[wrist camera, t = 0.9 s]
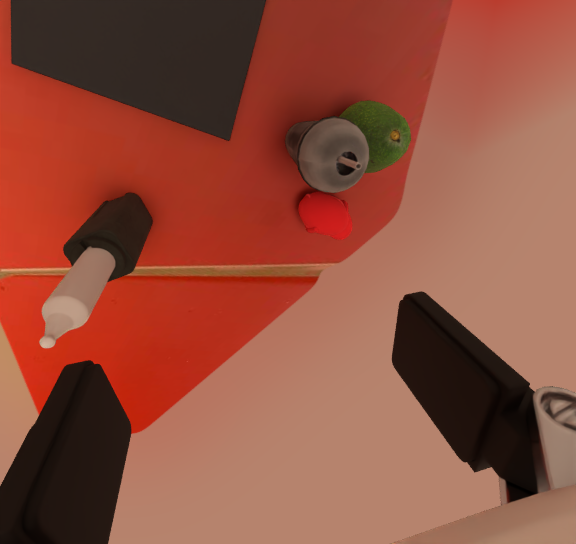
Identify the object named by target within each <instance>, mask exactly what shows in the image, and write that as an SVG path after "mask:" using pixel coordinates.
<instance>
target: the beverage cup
mask: <svg viewBox="0 0 576 544" xmlns="http://www.w3.org/2000/svg"><path fill="white" fill-rule="evenodd" d="M285 144H286V148H287V150H288V152H289V154H290V156H291V157H292V159H293V160H294V161H295V163H296V164H297V166H298V170H299V172H300V174H301V176H302V178H303V180H304V181H305V182H306V183H307V184H308V185H309V186H310V187H312V188H314V189H316V190H318V191H323V192H331V193H336V192H340V191H344V190H347V189H349V188H350V187H352V186H354V185H355V184H356V183H357V182H358V181H359V180H360V179H361V177H362V176H363V174H364V172H365V170H366V168H367V165H368V161H369V147H368V144H367V141H366V138H365V136H364V134H363V133H362V132H361V130H360V129H359V128H358V127H357V126H356V125H355V124H354V123H353V122H351V121H349V120H348V119H346V118H343V117H337V116H332V117H327V118H322V119H321V120H319V121H305V122H300V123H296V124H295V125H293V126H292V127H291V128H290V129H289V130H288V132H287V135H286V139H285Z"/></svg>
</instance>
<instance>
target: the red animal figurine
mask: <svg viewBox="0 0 576 544" xmlns="http://www.w3.org/2000/svg"><path fill="white" fill-rule="evenodd" d="M299 215H300V217H301V219H302V221H303V222H304V225H305V228H306V230H307V232H309V233H314V232H317V233H319V234H323V235H330V236H331V237H333V238H335V239H339V240H341V239H345V238H347V237H348V236H349V235H350V233H351V230H352V220H351V217H350V215H349V213H348V204H347V202H346V201H344V200H339V199H338V198H336V197H334V196H332V195H329V194H326V193H324V192H314V193H311V194H308V193H307V194H306V195H305V197H304V198H303V199H302V200H301V201H300V204H299Z"/></svg>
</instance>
